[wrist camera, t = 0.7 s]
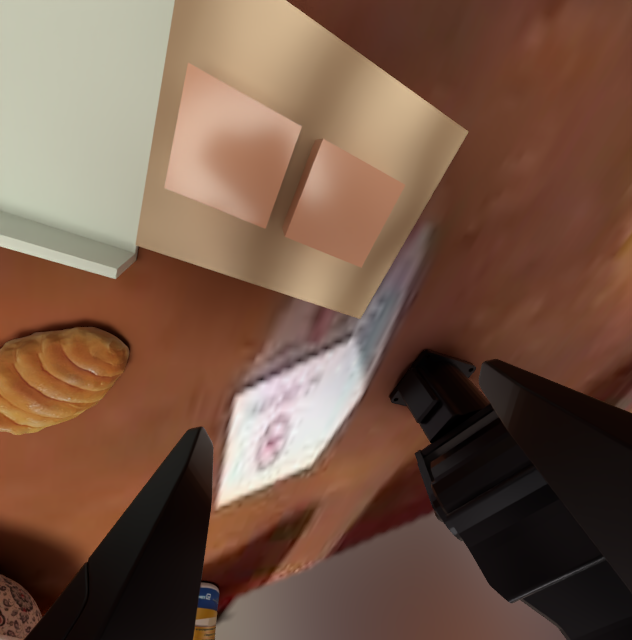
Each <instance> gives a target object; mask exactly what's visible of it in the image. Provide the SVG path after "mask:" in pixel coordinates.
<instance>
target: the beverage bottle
mask: <svg viewBox="0 0 632 640" xmlns="http://www.w3.org/2000/svg"><path fill="white" fill-rule="evenodd" d="M218 600H219V590H218V588H217V587H216V586H215V585H213V584H210V583H204V582H201V585H200V593H199V600H198V607H197V615H196V622H195V629H194V637H193V640H215V629H216V617H217V607H218Z"/></svg>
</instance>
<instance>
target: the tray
mask: <svg viewBox="0 0 632 640" xmlns="http://www.w3.org/2000/svg"><path fill="white" fill-rule="evenodd" d="M174 2H175V0H0V246H1V247H5V248H8V249H12V250H15V251H19V252H22V253H26V254H29V255H33V256H36V257H40V258H43V259H47V260H50V261H54V262H57V263H61V264H64V265H68V266H72V267H75V268H79V269H82V270H86V271H89V272H93V273H96V274H100V275H103V276H107V277H110V278H114V279H116V278H117V277H119V276H120V275H121V274H122V273H123V272H124V271H125V270H126V269H127V268H128V267H129V266H131V265H132V264H133V263H134V262H135V261H136V258H137V252H138V246H137V245H135V244H136V238H137V232H138V225H139V219H140V213H141V207H142V201H143V194H144V188H145V182H146V176H147V170H148V163H149V157H150V151H151V145H152V139H153V132H154V126H155V120H156V114H157V108H158V102H159V95H160V89H161V83H162V77H163V71H164V64H165V58H166V52H167V46H168V40H169V33H170V27H171V21H172V15H173V9H174Z"/></svg>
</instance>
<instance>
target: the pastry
mask: <svg viewBox="0 0 632 640" xmlns="http://www.w3.org/2000/svg"><path fill="white" fill-rule="evenodd" d="M128 357H129V348H128V347H127V346H126V345H125V344H124V343H123V342H122V341H121V340H120V339H118V338H117V337H116V336H114V335H112V334H110V333H108V332H106V331H104V330H101V329H98V328H96V327H75V328H72V329H64V330H59V331H47V332H35V333H33V334H32V335H30V336H26V337H22V338H18V339H14V340H11V341H8V342H6V343H5V344H4V346H3V347H2V348H1V349H0V431H6V432H10V433H12V434H14V435H22V434H24V433H33V432H38V431H40V430H42V429H43V428H45V427H48V426H51V425H55V424H59V423H61V422H64V421H68V420H70V419H73V418H75V417H77V416H78V415H80V414H81V413H82V412H84V411H85V410H87V409H89V408H91V407H92V406H94V405H96V404H97V403H98V402H99V401H100V400H101V399H102V398H103V397H104V396H105V394H106V393H107V392H108V391H109V390H110V388H111V387H112V386H113V384H114V383H115V381H116V380H117V379H118V378H119V376H120V375H121V374H122V373H123V372H124V370H125V367H126V364H127V360H128Z"/></svg>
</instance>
